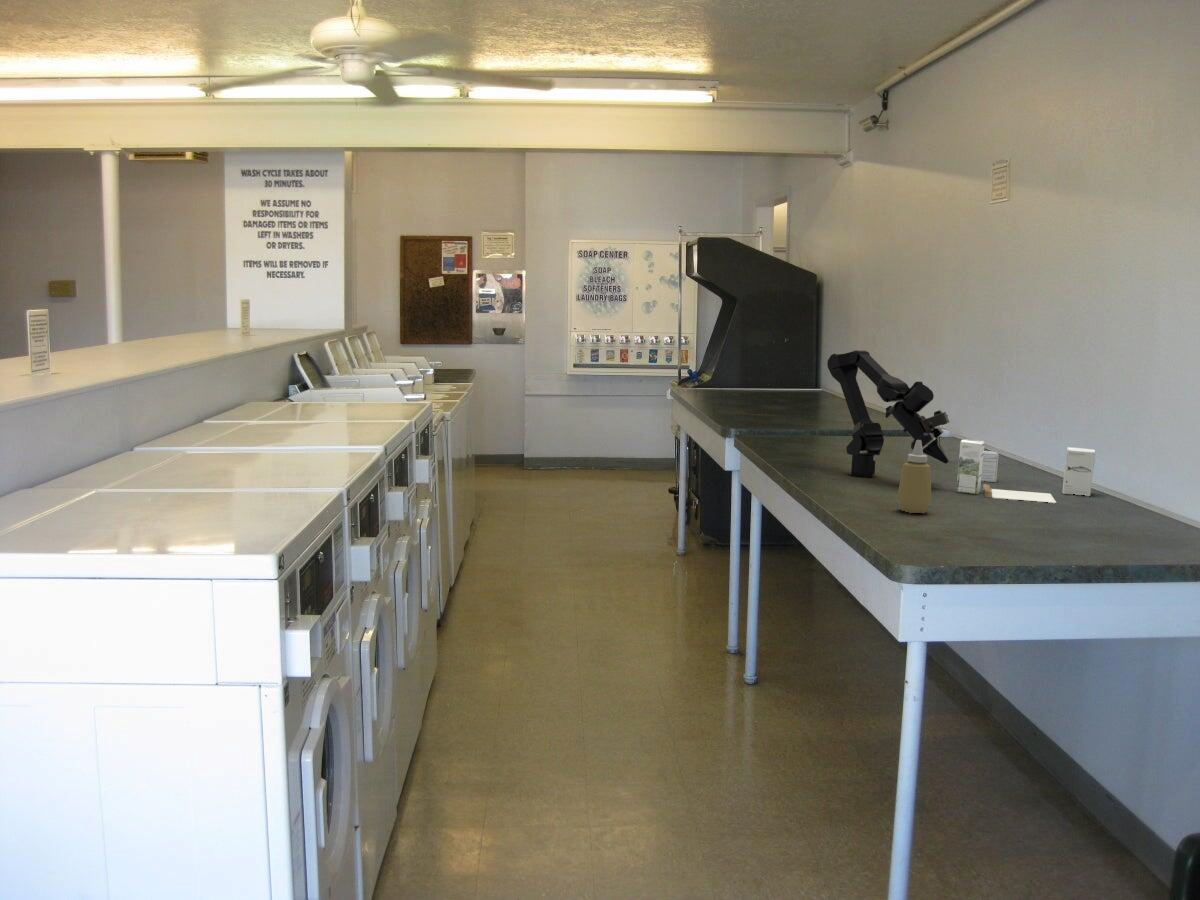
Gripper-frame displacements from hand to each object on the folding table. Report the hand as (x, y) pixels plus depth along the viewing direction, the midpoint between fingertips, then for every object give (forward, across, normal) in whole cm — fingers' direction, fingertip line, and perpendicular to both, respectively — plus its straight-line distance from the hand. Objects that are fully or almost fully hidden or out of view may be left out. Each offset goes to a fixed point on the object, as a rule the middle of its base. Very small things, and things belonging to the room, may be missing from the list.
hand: (947, 462), depth 302 cm
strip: (+13, +1, -2) cm, 13 cm away
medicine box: (+10, +24, +1) cm, 26 cm away
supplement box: (+29, +18, -18) cm, 38 cm away
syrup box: (+10, 0, +1) cm, 10 cm away
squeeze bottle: (+5, -39, +7) cm, 40 cm away
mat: (+20, +3, -8) cm, 21 cm away
